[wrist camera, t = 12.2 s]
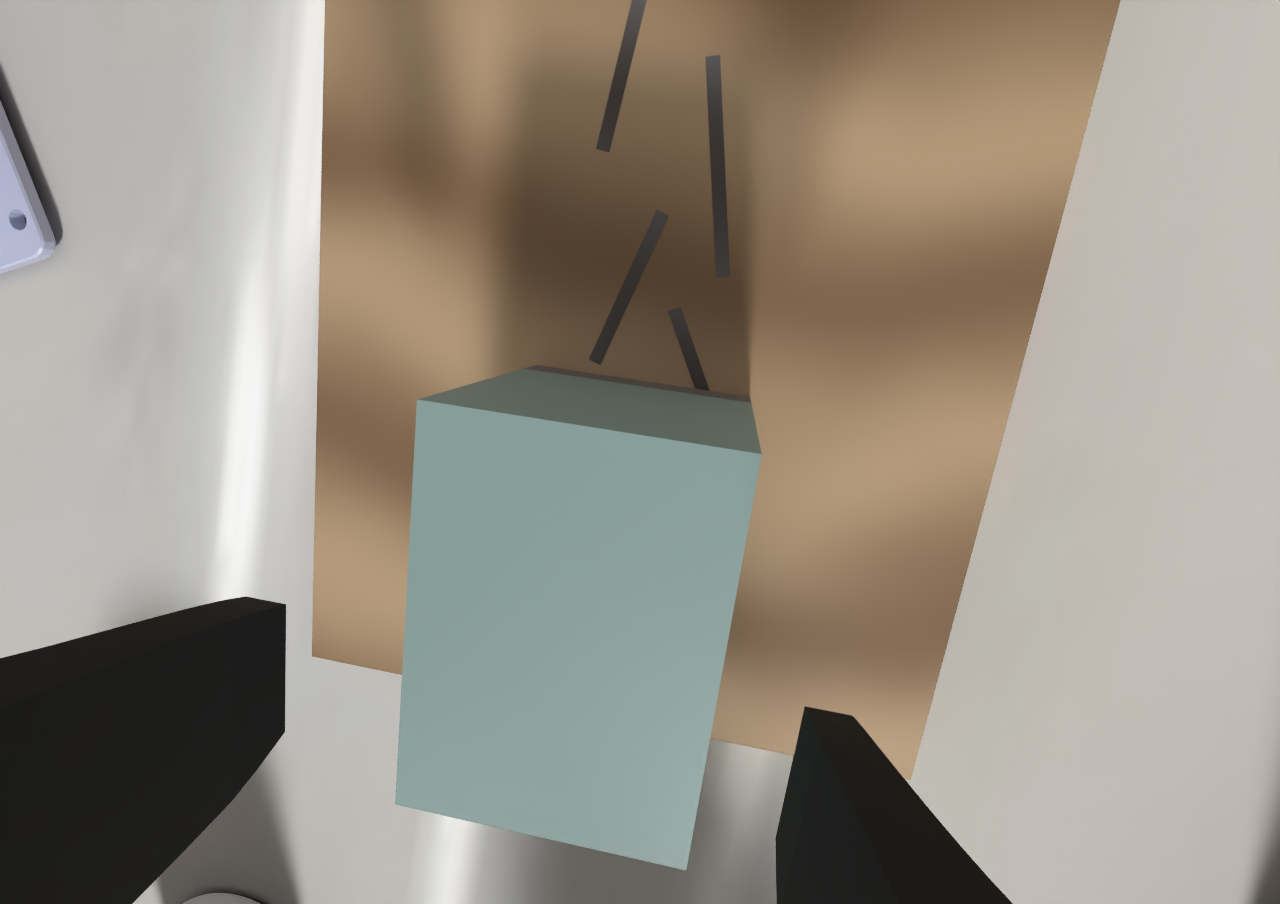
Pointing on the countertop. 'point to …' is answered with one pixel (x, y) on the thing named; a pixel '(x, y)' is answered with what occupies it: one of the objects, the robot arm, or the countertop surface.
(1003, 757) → the countertop surface
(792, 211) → the oak board
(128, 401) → the countertop surface
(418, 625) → the block
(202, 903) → the supplement bottle
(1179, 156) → the countertop surface
